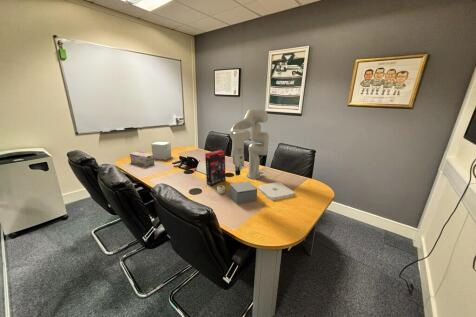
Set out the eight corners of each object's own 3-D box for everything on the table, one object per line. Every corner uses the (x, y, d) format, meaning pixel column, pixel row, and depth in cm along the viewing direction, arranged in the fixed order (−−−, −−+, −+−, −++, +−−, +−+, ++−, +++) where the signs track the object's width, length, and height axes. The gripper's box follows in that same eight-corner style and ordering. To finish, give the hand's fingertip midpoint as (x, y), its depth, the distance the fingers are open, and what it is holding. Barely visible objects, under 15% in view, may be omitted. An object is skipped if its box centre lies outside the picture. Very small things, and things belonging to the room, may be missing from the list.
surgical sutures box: (154, 164, 210) (153, 154, 206) (145, 167, 201) (144, 157, 198) (140, 160, 222) (138, 151, 218) (131, 162, 213) (129, 153, 210)
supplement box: (171, 156, 237) (170, 142, 231) (165, 160, 224) (164, 144, 219) (159, 155, 240) (157, 141, 235) (152, 158, 228) (150, 143, 223)
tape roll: (223, 190, 155) (223, 184, 153) (225, 193, 149) (226, 187, 148) (216, 191, 152) (216, 185, 151) (218, 194, 147) (218, 189, 146)
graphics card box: (210, 186, 160) (210, 155, 152) (205, 184, 164) (204, 153, 156) (225, 180, 172) (225, 151, 164) (220, 178, 176) (220, 149, 168)
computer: (256, 188, 159) (256, 185, 158) (279, 184, 167) (279, 181, 167) (270, 201, 140) (270, 198, 139) (295, 196, 148) (295, 193, 147)
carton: (247, 191, 153) (248, 182, 150) (256, 199, 140) (257, 189, 138) (229, 195, 146) (229, 185, 144) (236, 204, 134) (236, 193, 132)
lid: (248, 182, 150) (248, 181, 150) (257, 189, 138) (257, 188, 138) (229, 184, 144) (230, 183, 144) (237, 192, 132) (237, 191, 132)
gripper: (248, 152, 126) (247, 178, 132) (238, 146, 139) (238, 170, 144) (237, 153, 123) (237, 179, 129) (228, 147, 136) (229, 171, 142)
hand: (237, 174), depth 137 cm, fingers closed
